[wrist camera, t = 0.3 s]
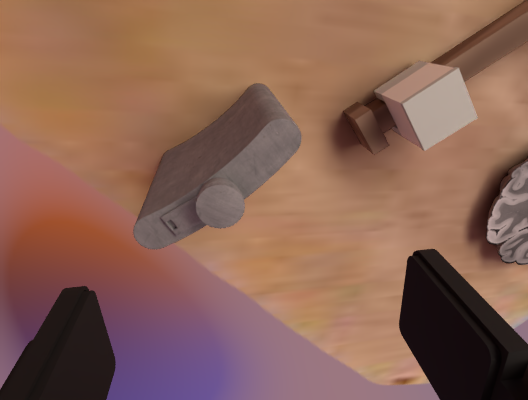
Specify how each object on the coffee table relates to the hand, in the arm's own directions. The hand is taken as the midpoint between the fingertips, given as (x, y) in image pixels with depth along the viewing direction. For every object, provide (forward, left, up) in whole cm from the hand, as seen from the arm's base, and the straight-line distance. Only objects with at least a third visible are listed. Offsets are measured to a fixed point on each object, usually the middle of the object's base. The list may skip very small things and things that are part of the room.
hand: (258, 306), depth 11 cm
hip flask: (+3, -4, -36) cm, 37 cm away
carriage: (+12, +17, -36) cm, 42 cm away
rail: (+12, +26, -36) cm, 46 cm away
